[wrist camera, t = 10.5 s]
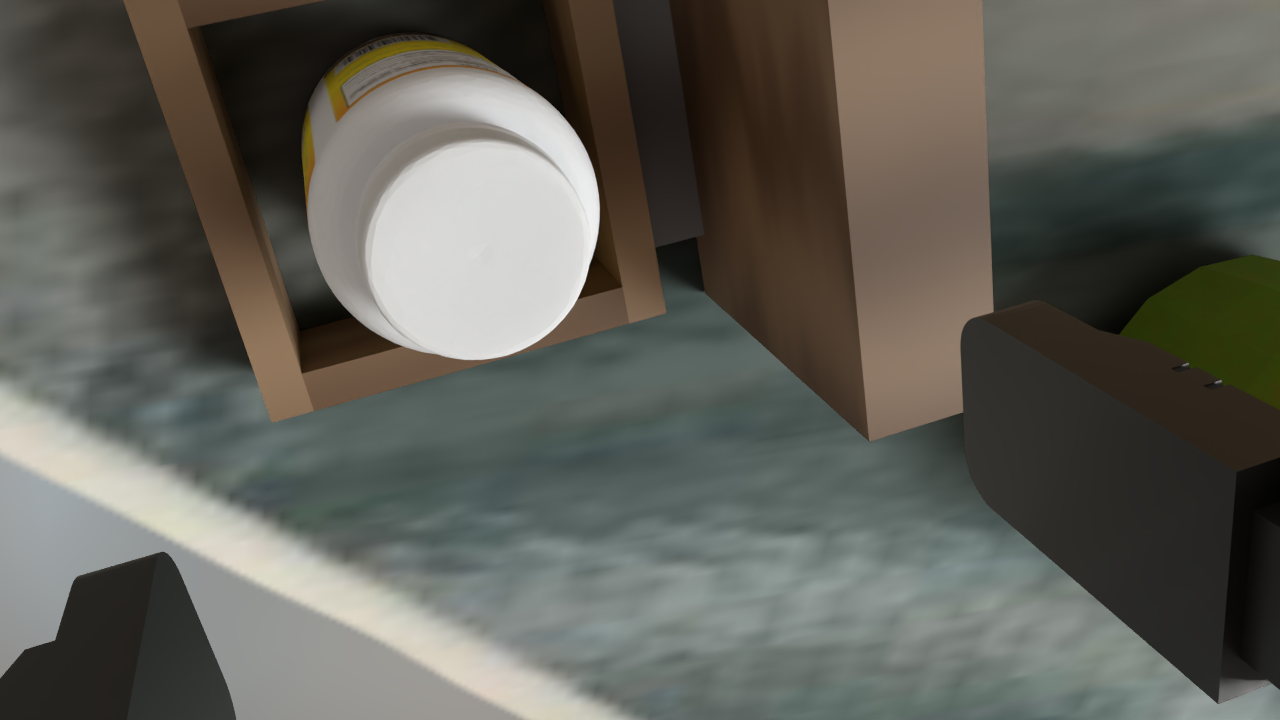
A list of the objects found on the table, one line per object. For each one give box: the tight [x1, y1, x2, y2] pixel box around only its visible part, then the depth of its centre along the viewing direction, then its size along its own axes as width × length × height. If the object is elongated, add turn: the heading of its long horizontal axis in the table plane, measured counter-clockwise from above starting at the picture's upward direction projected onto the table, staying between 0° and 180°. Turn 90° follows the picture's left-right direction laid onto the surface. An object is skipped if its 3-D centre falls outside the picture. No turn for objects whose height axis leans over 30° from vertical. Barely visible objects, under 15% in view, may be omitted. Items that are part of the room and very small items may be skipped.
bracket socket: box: [123, 0, 994, 442], centre depth 24 cm, size 12×15×10 cm
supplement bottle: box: [301, 33, 600, 360], centre depth 23 cm, size 6×6×10 cm
